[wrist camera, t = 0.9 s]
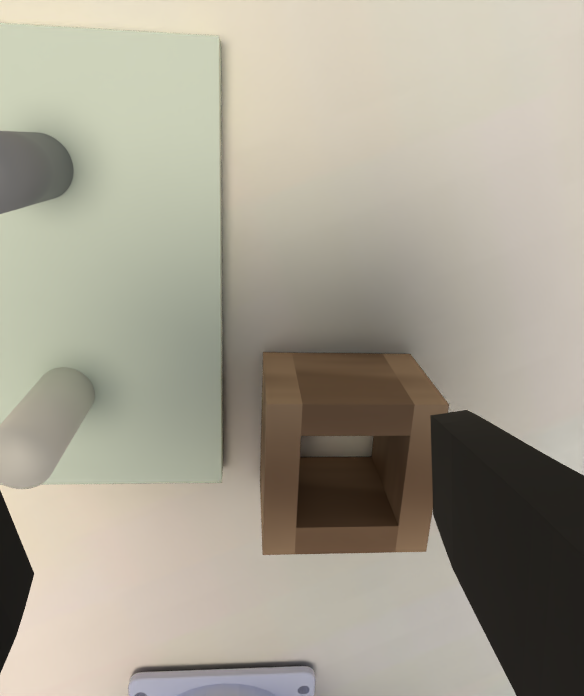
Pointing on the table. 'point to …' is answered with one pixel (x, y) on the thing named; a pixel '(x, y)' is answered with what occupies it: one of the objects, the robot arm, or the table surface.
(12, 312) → the pale green peg board
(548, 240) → the table surface
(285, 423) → the wooden block with hole
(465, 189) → the table surface
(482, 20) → the table surface
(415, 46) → the table surface
